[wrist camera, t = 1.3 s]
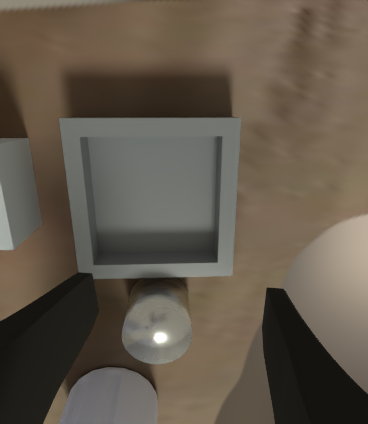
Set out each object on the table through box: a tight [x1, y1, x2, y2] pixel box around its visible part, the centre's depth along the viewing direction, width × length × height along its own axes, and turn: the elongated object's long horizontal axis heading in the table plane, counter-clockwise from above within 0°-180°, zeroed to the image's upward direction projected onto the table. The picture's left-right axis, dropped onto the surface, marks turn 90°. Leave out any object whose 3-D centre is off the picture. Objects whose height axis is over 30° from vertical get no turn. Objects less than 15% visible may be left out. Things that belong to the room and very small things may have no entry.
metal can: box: [122, 277, 192, 364], centre depth 26 cm, size 5×5×5 cm
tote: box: [59, 117, 241, 279], centre depth 23 cm, size 12×12×3 cm
